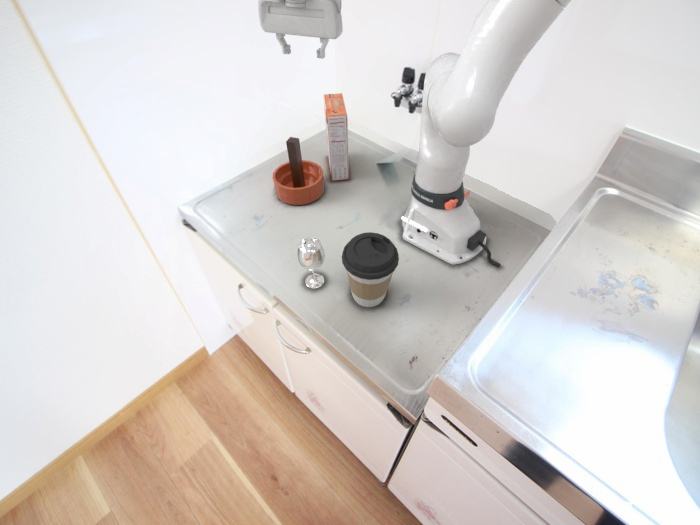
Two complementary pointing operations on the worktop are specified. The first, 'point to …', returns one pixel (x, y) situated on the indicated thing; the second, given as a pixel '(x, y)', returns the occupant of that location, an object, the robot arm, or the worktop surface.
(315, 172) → the bowl
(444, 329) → the worktop surface
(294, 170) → the stick
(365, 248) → the coffee cup
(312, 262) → the wineglass
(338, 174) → the cracker box
